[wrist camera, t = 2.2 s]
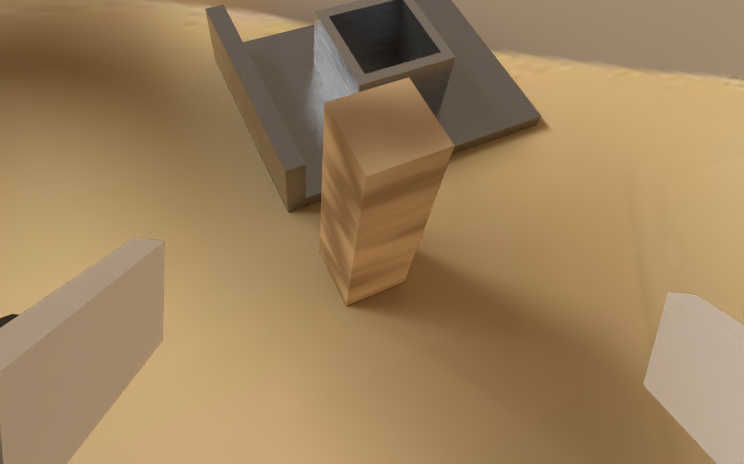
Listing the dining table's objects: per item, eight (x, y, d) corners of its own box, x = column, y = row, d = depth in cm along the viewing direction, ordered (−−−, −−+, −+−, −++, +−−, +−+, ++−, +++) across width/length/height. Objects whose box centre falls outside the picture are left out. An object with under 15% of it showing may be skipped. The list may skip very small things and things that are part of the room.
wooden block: (319, 251, 38) (324, 102, 25) (376, 230, 40) (408, 77, 26) (346, 306, 36) (366, 176, 23) (404, 281, 38) (454, 145, 25)
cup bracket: (215, 59, 46) (203, -3, 41) (442, 0, 52) (457, -59, 47) (287, 211, 40) (284, 161, 34) (536, 124, 46) (565, 70, 41)
